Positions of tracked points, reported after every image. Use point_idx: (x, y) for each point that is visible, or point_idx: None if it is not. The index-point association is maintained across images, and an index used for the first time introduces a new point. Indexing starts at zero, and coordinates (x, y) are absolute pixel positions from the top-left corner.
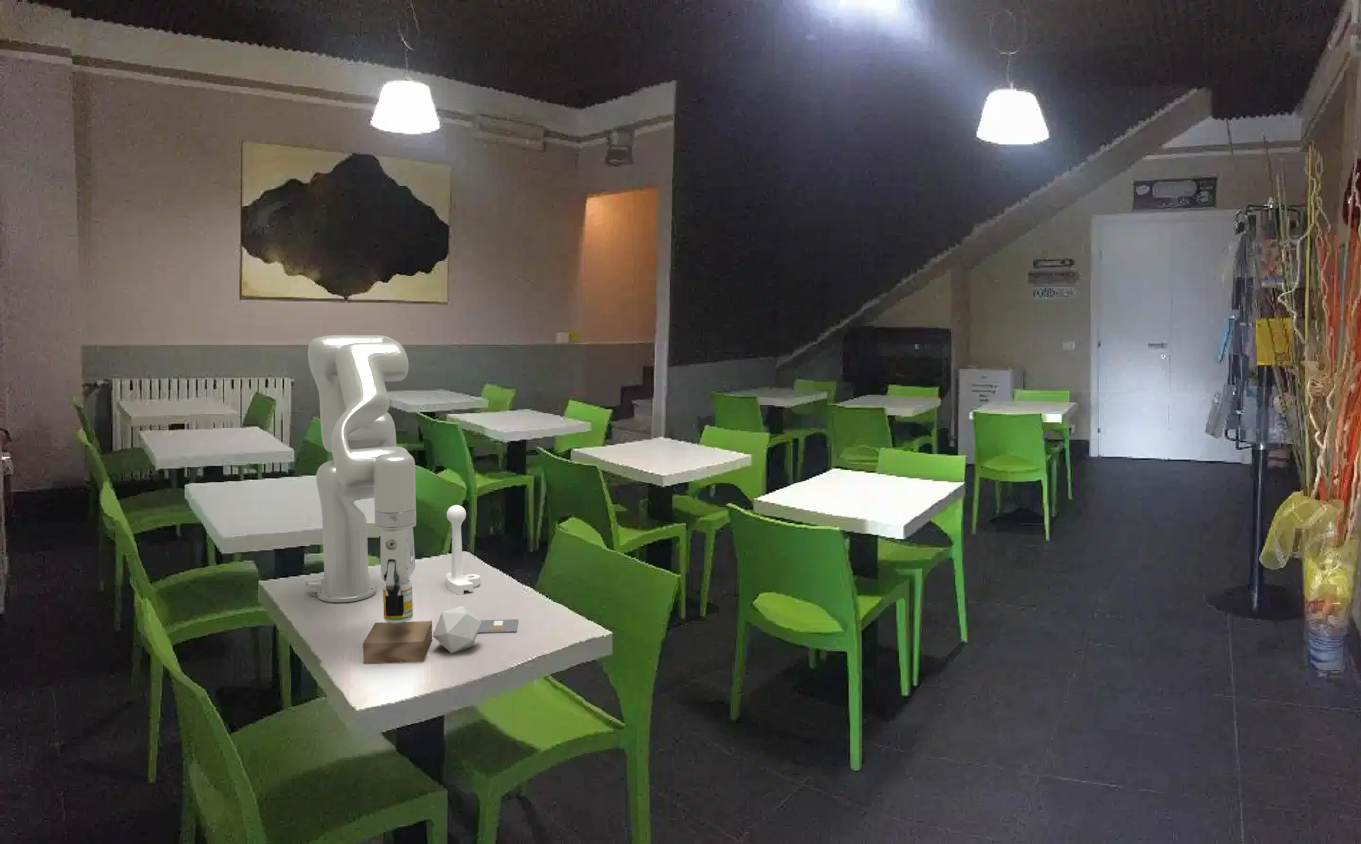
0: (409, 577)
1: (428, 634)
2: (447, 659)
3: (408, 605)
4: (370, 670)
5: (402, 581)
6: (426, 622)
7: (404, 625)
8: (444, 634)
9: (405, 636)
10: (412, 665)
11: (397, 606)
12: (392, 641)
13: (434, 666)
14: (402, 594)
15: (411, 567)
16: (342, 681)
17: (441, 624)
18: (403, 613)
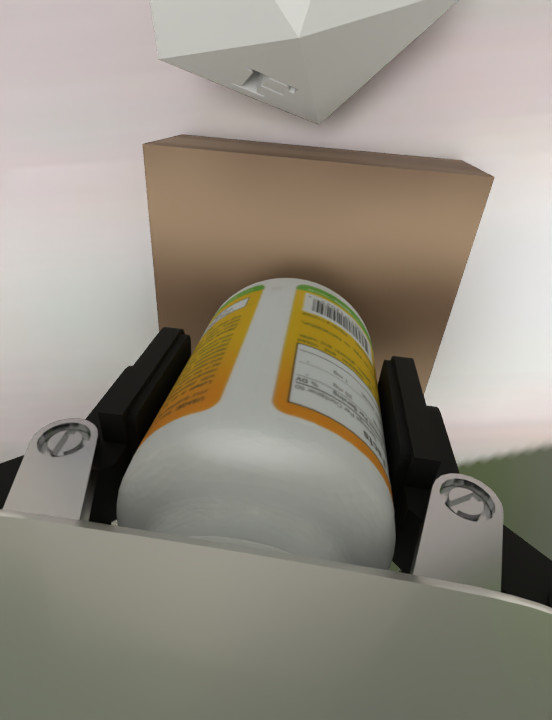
0: (479, 596)
1: (291, 153)
2: (474, 16)
3: (349, 348)
4: (470, 367)
5: (327, 556)
6: (165, 177)
7: (208, 294)
8: (431, 21)
9: (375, 283)
10: (485, 213)
11: (442, 433)
12: (429, 339)
13: (549, 94)
14: (383, 456)
15: (260, 701)
16: (534, 439)
17: (361, 47)
18: (408, 359)
